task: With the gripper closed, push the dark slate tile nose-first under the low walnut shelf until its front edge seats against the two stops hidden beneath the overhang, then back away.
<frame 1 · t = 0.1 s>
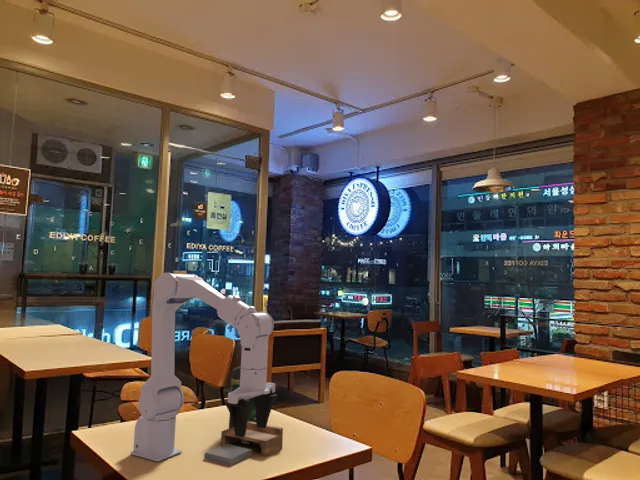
hand: (251, 431, 107), 10 cm above the table, tool pointing down, fingers open, 7 cm apart
walnut shelf: (250, 447, 127), on the table
coffee jar: (243, 431, 141), on the table
slate tile: (228, 459, 119), on the table
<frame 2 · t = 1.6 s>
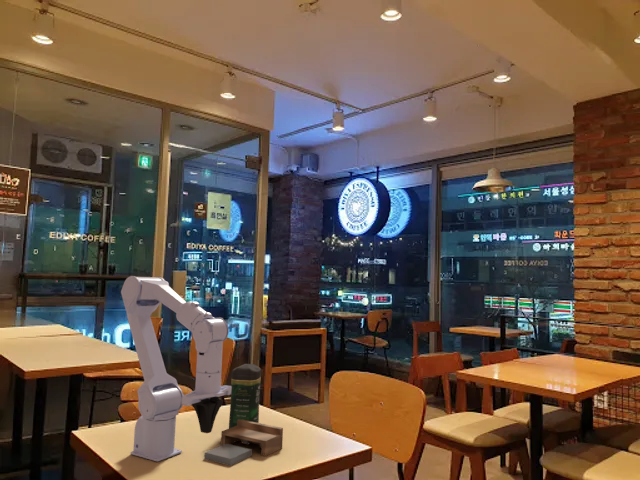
hand: (206, 432, 112), 8 cm above the table, tool pointing down, fingers closed
nothing on the table moved.
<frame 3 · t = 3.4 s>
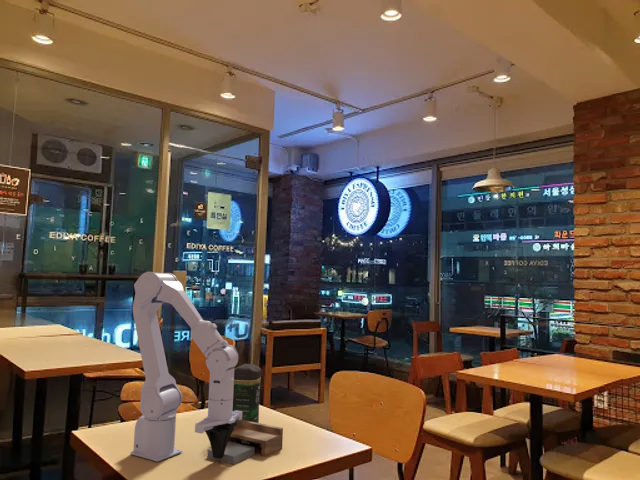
hand: (218, 457, 116), 1 cm above the table, tool pointing down, fingers closed
slate tile: (231, 457, 120), on the table
everything else where it was.
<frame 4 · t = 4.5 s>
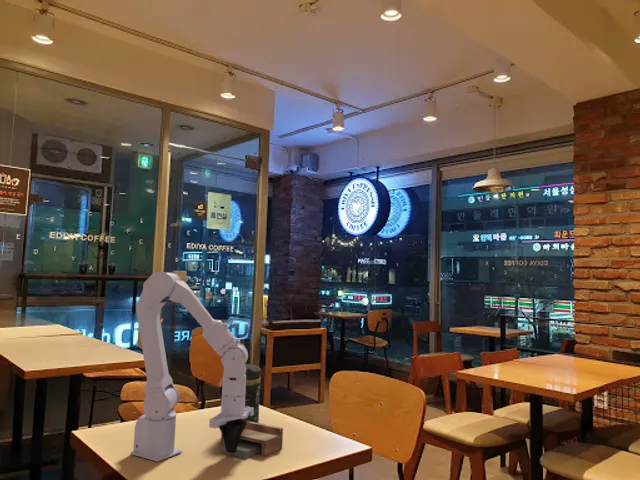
hand: (231, 451, 120), 1 cm above the table, tool pointing down, fingers closed
slate tile: (243, 452, 124), on the table
everything else where it was.
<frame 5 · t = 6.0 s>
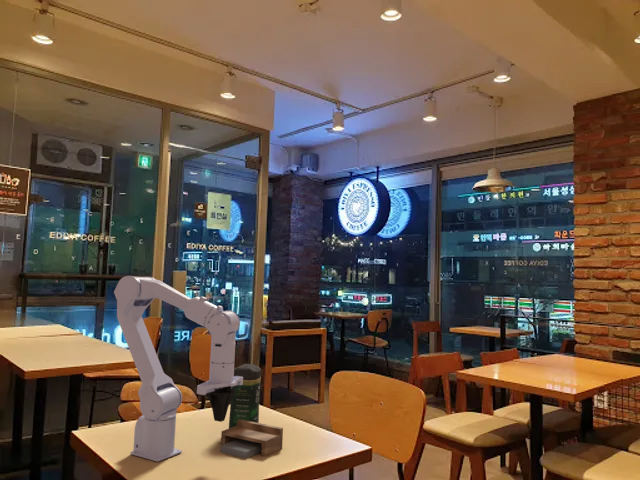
hand: (219, 420, 117), 9 cm above the table, tool pointing down, fingers closed
nothing on the table moved.
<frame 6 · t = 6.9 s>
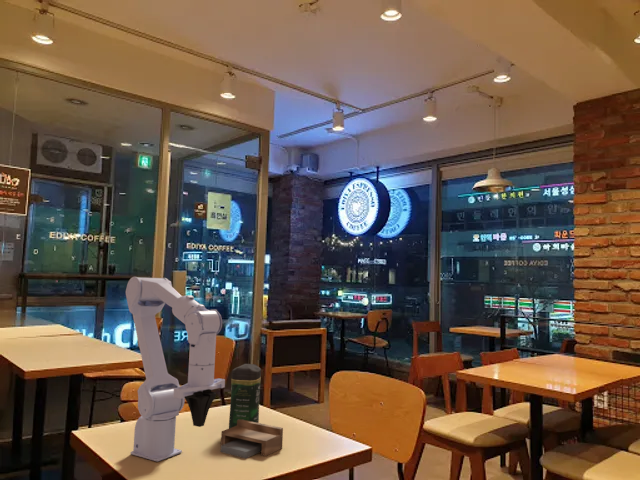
hand: (198, 425, 111), 10 cm above the table, tool pointing down, fingers closed
nothing on the table moved.
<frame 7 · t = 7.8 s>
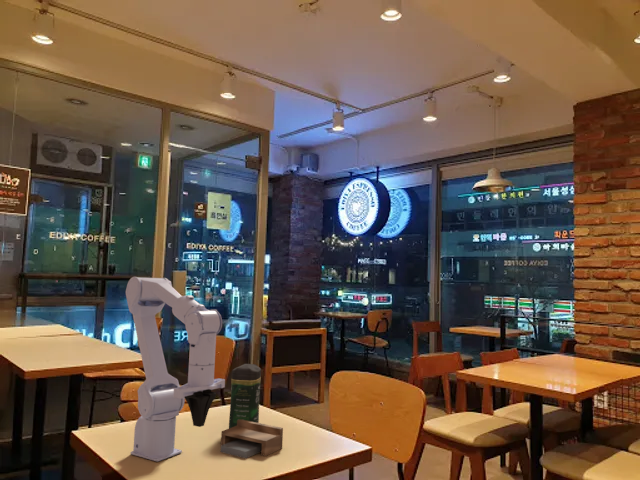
hand: (198, 425, 111), 10 cm above the table, tool pointing down, fingers closed
nothing on the table moved.
at the end: slate tile 0.3 cm from the target spot, on the table; slate tile tilted 0°; the gripper is holding nothing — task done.
